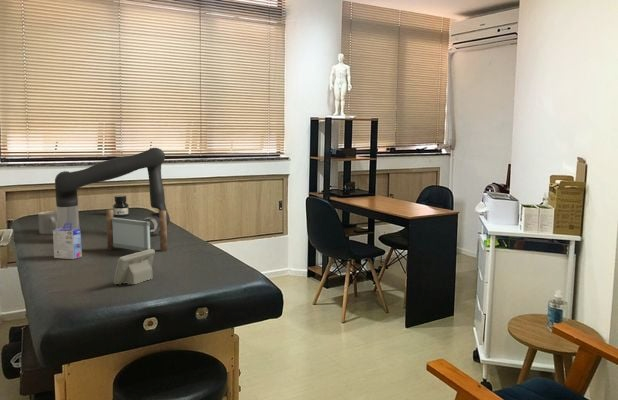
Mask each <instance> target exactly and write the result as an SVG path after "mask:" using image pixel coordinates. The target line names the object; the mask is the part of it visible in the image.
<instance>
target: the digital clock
mask: <svg viewBox="0 0 618 400" xmlns="http://www.w3.org/2000/svg"><path fill="white" fill-rule="evenodd" d="M155 251H156V250H155V249H153V248H151V249H149V250H145V251H138V252H134V253H131V254H126V255H124V256H120V257H119V258H118V261H117V265H116V269H115V273H114V278H113V284H114V285H116V284H119V285H121V284H120V283H123V284H125V283H124V282H127V283H130V284H137V283H140V282H143V281H146V280H149V281H150V279H151V280H153V279H154V277H153V263H154V258H155V255H156V252H155ZM146 282H147V281H146ZM143 283H144V282H143ZM140 284H141V283H140ZM137 285H138V284H137Z"/></svg>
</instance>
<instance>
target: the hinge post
mask: <svg viewBox="0 0 618 400" xmlns="http://www.w3.org/2000/svg"><path fill="white" fill-rule="evenodd" d="M105 217H106V218H105V220H106V238H107V241H106V242H107V250H108V251H114V250H116V247H113V225H112V218H114V215H113V209H112V208H109V209H105Z"/></svg>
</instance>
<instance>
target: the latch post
mask: <svg viewBox="0 0 618 400" xmlns="http://www.w3.org/2000/svg"><path fill="white" fill-rule="evenodd" d="M158 211H159V212H158V213H159V221H160V227H159V231H158V236H159V243H160V252H167V251H168V233H167V232H168V230H167V227H168V225H167V221H166V211H165V210H161V211H160V210H158Z"/></svg>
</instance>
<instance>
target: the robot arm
mask: <svg viewBox="0 0 618 400" xmlns="http://www.w3.org/2000/svg"><path fill="white" fill-rule="evenodd" d="M165 159H166V153H165V152H164V151H163V150H162V148H159V147H152V148H149V149H147V150H145V151H142V152H139V153H136V154H133V155H126V156H119V157H115V158H112V159H111V158H110V159H107V160H103V161H101V162H98V163H96V164H93V165H91V166H88V167H86V168H84V169H79V170H74V171H71V172H70V171H66V170H64V171H60V172H59V173H58V174H56V176H55V178H54V188H55V203H56V206H55V207H56V211H57V221H58V222H56V229H58V228H63V227H64V224H65V223H73V224H72V227H71V228H74V229H80V215H79V200H78V189H80V188H82V187H84V186H88V185H91V184H95V183H96V184H97V183H100V182H102V183H103V182H105V181H110V180H114V179H117V178H121V177H123V176H126V175H129V174H131V173H134V172H136V171H138V170H142V169H147V174H148V185H149V186H148V187H149V188H148V189H149V203H150V207H151V208H153V209H157V210H158V211H161V210H165V211H166V221H167V226H169V224H170V222H171V217H170V215H169V212H168V209H167V206H166V201H165V200H166V199H165V188H164V185H163V183H164V182H163V179H162V164H163V163H164V161H165ZM140 221H147V222H150V235H151V234H154V233H155V231H156V230H158V229H160V221H159V212H151V213H149V214H148V217H145V218H142V219H141V220H140ZM66 226H68V227H70V225H66Z"/></svg>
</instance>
